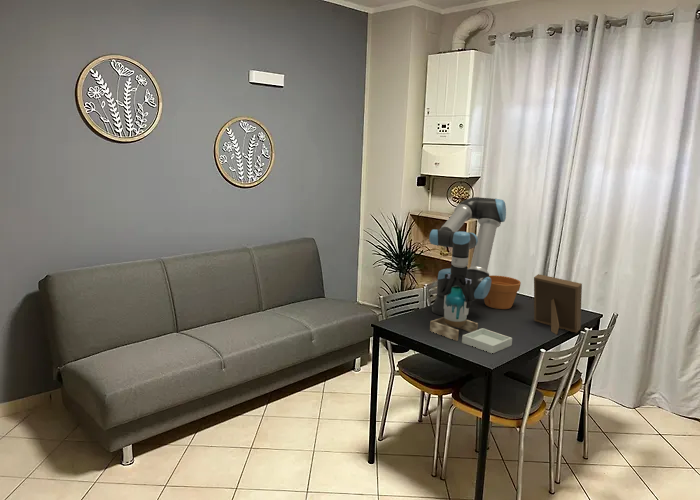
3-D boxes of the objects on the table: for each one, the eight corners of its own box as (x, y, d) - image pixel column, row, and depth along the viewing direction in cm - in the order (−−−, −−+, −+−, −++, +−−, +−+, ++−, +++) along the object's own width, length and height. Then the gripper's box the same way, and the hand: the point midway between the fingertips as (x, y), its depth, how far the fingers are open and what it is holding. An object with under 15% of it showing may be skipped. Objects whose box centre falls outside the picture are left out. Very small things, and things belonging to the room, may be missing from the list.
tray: (461, 342, 235) (462, 335, 235) (481, 335, 246) (482, 328, 245) (492, 353, 224) (493, 346, 223) (511, 345, 235) (512, 337, 234)
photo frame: (538, 319, 272) (543, 272, 267) (580, 330, 257) (586, 281, 252) (524, 325, 262) (529, 277, 256) (567, 338, 247) (573, 287, 241)
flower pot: (492, 297, 308) (494, 273, 305) (525, 306, 293) (528, 281, 290) (471, 304, 294) (473, 278, 291) (504, 313, 279) (507, 287, 276)
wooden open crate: (429, 331, 248) (430, 321, 247) (450, 324, 259) (451, 314, 258) (456, 341, 237) (457, 330, 236) (477, 333, 248) (478, 323, 247)
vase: (461, 332, 240) (464, 291, 236) (439, 327, 246) (442, 287, 242) (469, 325, 249) (472, 286, 245) (448, 320, 255) (451, 282, 251)
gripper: (434, 261, 247) (431, 306, 252) (476, 271, 231) (471, 319, 235) (444, 259, 252) (441, 303, 257) (485, 269, 236) (481, 316, 240)
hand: (455, 311), depth 246 cm, fingers closed on vase, 11 cm apart
